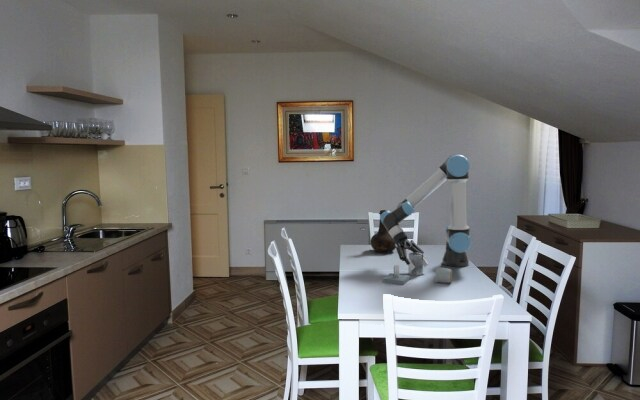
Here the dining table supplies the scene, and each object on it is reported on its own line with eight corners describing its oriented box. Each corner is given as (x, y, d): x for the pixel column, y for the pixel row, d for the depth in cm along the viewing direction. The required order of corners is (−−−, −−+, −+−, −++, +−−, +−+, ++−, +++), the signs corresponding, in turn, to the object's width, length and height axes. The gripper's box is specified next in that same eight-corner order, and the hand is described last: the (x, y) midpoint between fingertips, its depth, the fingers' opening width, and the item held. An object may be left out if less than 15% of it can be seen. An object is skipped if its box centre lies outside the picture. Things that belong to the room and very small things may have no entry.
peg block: (410, 279, 238) (410, 264, 237) (403, 284, 228) (403, 269, 227) (389, 276, 243) (390, 262, 242) (382, 282, 233) (382, 266, 232)
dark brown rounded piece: (401, 253, 299) (401, 211, 296) (375, 255, 295) (376, 212, 292) (391, 248, 316) (391, 208, 314) (366, 249, 312) (366, 209, 310)
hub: (423, 272, 251) (424, 253, 249) (420, 275, 244) (420, 255, 243) (411, 271, 254) (411, 252, 253) (407, 274, 248) (407, 254, 246)
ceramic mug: (451, 284, 227) (452, 269, 227) (435, 283, 230) (435, 268, 229) (451, 279, 238) (452, 265, 237) (435, 278, 240) (435, 264, 239)
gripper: (407, 236, 266) (429, 267, 256) (380, 241, 252) (402, 274, 241) (415, 228, 262) (437, 259, 251) (387, 233, 247) (410, 266, 237)
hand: (420, 267), depth 246 cm, fingers open, 11 cm apart
